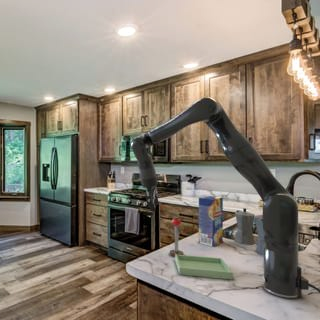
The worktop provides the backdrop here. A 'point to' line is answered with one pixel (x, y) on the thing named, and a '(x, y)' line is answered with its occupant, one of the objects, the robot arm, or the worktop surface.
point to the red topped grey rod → (176, 237)
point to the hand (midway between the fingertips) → (155, 208)
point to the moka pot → (260, 234)
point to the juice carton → (210, 220)
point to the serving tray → (203, 267)
